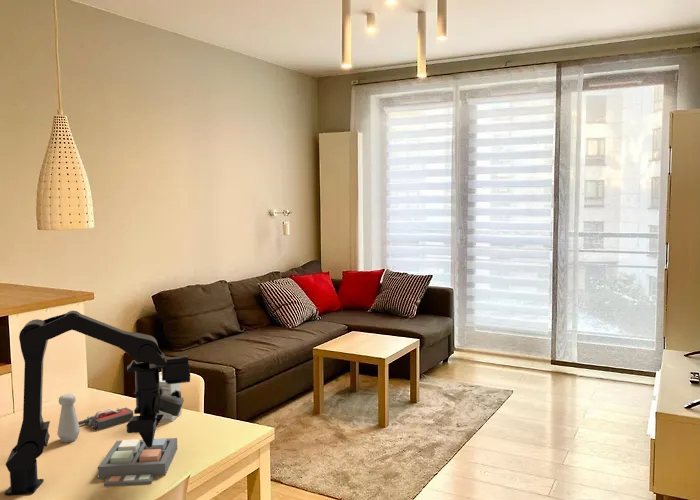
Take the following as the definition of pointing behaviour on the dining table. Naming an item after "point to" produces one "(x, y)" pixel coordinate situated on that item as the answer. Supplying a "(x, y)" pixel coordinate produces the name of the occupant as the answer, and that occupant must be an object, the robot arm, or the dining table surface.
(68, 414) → the salt shaker
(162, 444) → the key slate
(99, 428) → the walkie-talkie
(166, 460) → the keypad
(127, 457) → the key sage
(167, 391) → the supplement box
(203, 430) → the dining table surface
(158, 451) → the key terracotta
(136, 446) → the key offwhite
